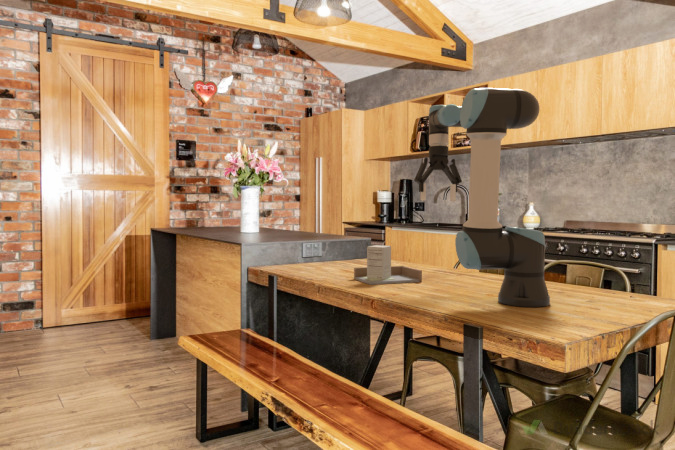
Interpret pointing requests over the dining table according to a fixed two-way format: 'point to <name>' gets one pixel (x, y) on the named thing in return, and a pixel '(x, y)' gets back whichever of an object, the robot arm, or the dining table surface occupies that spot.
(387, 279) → the pad
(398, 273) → the brown tray
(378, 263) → the supplement box
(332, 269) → the dining table surface
